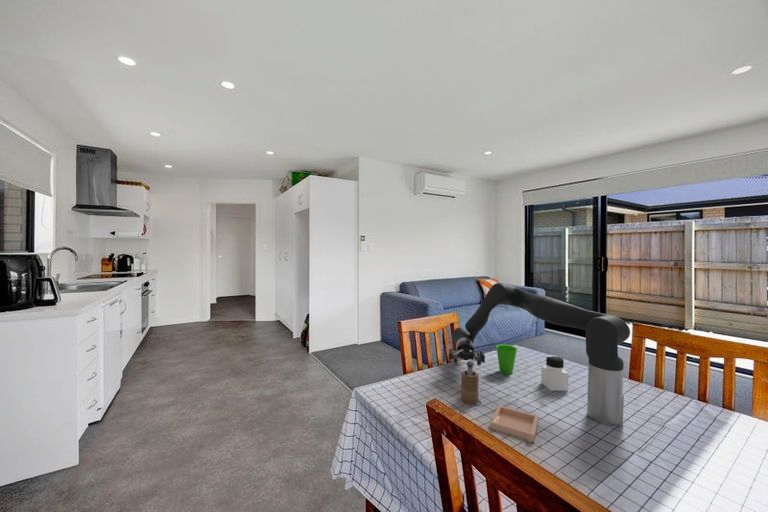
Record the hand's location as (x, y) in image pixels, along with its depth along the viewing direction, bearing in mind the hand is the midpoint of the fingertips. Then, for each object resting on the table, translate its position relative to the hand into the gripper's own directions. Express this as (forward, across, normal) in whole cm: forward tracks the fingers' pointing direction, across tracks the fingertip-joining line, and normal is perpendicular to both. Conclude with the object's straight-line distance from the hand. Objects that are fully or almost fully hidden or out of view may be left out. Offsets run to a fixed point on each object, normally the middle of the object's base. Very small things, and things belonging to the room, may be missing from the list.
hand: (467, 362), depth 120 cm
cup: (-20, +18, +11) cm, 29 cm away
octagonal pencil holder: (+12, 0, +10) cm, 15 cm away
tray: (+24, +13, +10) cm, 29 cm away
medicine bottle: (-9, +34, +10) cm, 37 cm away
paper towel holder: (+12, 0, +10) cm, 15 cm away
